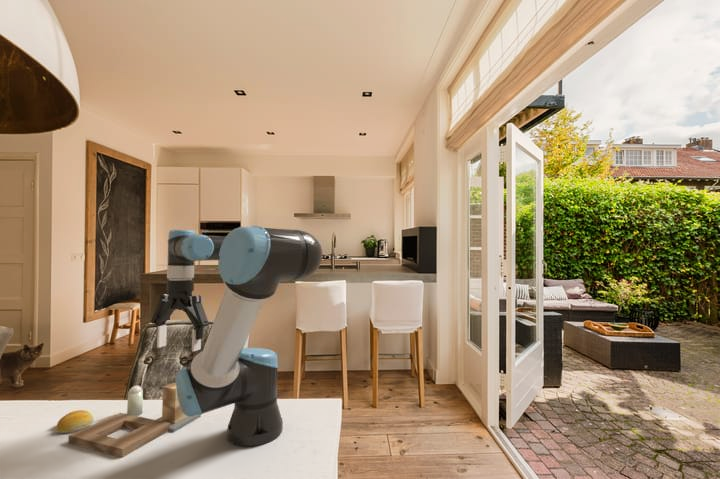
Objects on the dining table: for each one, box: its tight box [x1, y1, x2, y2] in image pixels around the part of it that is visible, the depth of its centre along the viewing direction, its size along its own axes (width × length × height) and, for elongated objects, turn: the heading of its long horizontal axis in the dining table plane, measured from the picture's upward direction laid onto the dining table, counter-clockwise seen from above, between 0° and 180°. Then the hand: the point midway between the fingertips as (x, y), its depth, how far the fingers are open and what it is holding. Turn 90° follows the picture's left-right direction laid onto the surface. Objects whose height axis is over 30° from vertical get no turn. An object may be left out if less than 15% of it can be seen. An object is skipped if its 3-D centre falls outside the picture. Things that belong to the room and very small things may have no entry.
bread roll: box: [56, 409, 94, 434], centre depth 99 cm, size 8×9×4 cm
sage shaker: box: [126, 385, 144, 417], centre depth 107 cm, size 4×4×9 cm
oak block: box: [161, 381, 188, 424], centre depth 103 cm, size 5×5×10 cm
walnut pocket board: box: [67, 412, 170, 458], centre depth 94 cm, size 20×14×2 cm
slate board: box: [155, 414, 202, 433], centre depth 102 cm, size 10×10×1 cm
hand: (178, 348), depth 104 cm, fingers open, 13 cm apart
